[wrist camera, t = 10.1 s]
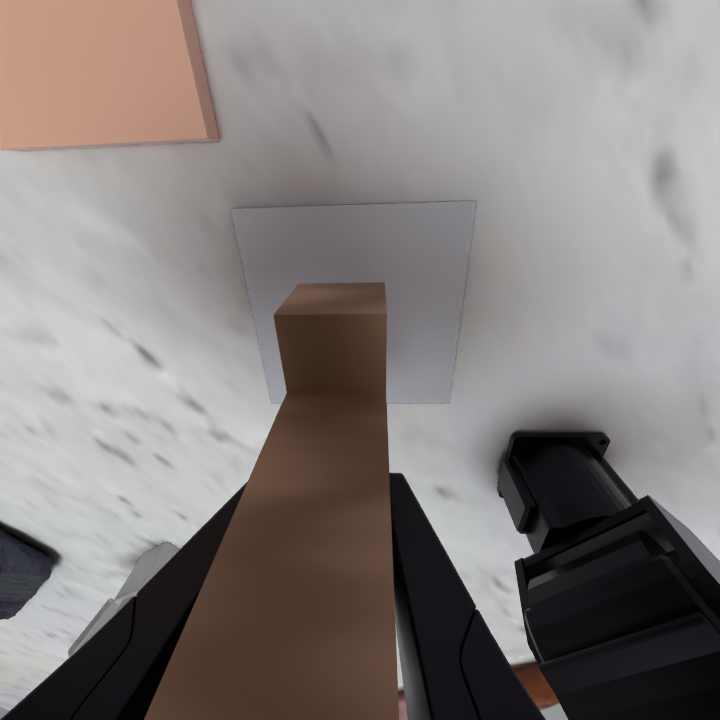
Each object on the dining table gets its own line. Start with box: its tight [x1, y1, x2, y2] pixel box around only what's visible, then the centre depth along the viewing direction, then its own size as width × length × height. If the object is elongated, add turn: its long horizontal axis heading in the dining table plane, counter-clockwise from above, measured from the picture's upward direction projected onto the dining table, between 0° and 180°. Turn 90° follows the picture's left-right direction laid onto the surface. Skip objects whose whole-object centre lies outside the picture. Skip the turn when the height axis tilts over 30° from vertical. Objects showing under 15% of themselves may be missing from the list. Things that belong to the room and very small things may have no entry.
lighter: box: [68, 542, 180, 658], centre depth 29 cm, size 7×2×8 cm, turn 126°
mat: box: [230, 201, 476, 404], centre depth 19 cm, size 12×12×1 cm
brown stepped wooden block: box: [144, 282, 399, 720], centre depth 8 cm, size 3×8×10 cm, turn 2°
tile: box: [0, 0, 220, 151], centre depth 13 cm, size 10×2×9 cm
